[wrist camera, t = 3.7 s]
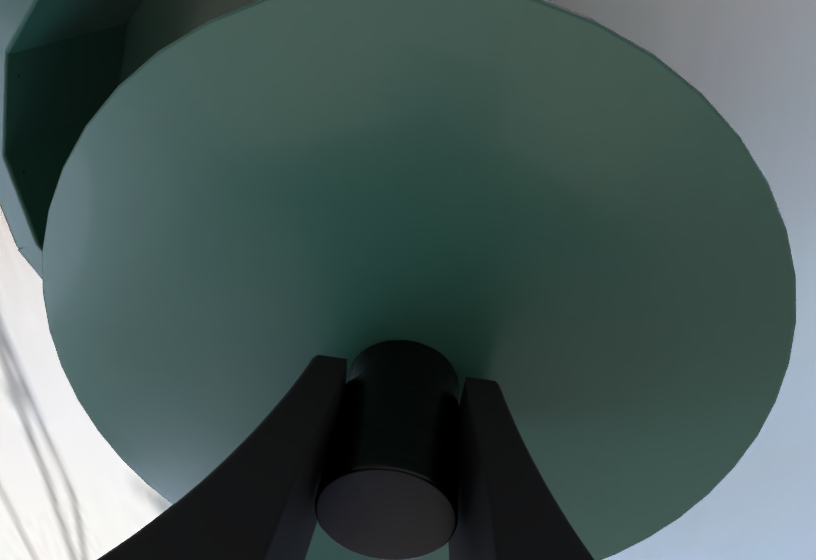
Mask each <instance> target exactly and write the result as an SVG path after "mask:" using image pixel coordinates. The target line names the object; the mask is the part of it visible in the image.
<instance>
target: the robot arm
mask: <svg viewBox="0 0 816 560" xmlns="http://www.w3.org/2000/svg"><path fill="white" fill-rule="evenodd" d="M347 362H348V359H345V358H338V357H331V356H325V355H317V356H315V357H313V358H312V359H311V361H310V362H309V364H308V365H307V367H306V368H305V370H304V371H303V373H302V374H301V375H300V377H299V378H298V379H297V381H296V382H295V383H294V385H293V386H292V387H291V388H290V390H289V391H288V392H287V393H286V394H285V396H284V397H283V398H282V399H281V401H280V402H279V403H278V404H277V405H276V406H275V407H274V409H273V410H272V411H271V412H270V413H269V414H268V415H267V417H266V418H265V419H264V420H263V421H262V422H261V423H260V424H259V426H258V427H257V428H256V429H255V430H254V431H253V432H252V433H251V434H250V435H249V436H248V437H247V438H246V439H245V440H244V441H243V442H242V443H241V444H240V445H239V446H238V447H237V448H236V449H235V450H234V451H233V452H232V453H231V454H230V455H229V456H228V457H227V458H226V459H225V460H224V461H223V462H222V463H221V464H220V465H219V466H218V467H216V468H215V469H214V470H213V471H212V472H211V473H210V474H209V475H208V476H207V477H205V478H204V479H203V480H202V481H201V482H200V483H199V484H197V485H196V486H195V487H194V488H193V489H192V490H190V491H189V492H188V493H187V494H186V495H184V496H183V497H182V498H181V499H180V500H178V501H177V502H176V503H174V504H173V505H172V506H171V507H169V508H168V509H167V510H166V511H164V512H163V513H162V514H161V515H159V516H158V517H157V518H155V519H154V520H153V521H152V522H150V523H149V524H148V525H146V526H145V527H144V528H142V529H141V530H140V531H138V532H137V533H135V534H134V535H133V536H131V537H130V538H129V539H127V540H126V541H124V542H123V543H121V544H120V545H118V546H117V547H115V548H114V549H112V550H111V551H109V552H108V553H106V554H105V555H103V556H102V557H100V558H99V559H98V560H305V558H306V555H307V552H308V549H309V546H310V543H311V540H312V537H313V534H314V530H315V527H316V524H317V518H316V514H315V509H314V503H315V497H316V493H317V490H318V486H319V482H320V478H321V474H322V470H323V466H324V463H325V459H326V455H327V451H328V447H329V443H330V440H331V436H332V433H333V429H334V426H335V422H336V419H337V415H338V411H339V407H340V403H341V400H342V396H343V392H344V388H345V384H346V373H347ZM448 545H449V560H594V558H593V557H592V555H591V554H590V552H589V551H588V549H587V548H586V547H585V545H584V544H583V542H582V541H581V539H580V538H579V537H578V535H577V534H576V532H575V530H574V529H573V527H572V526H571V524H570V523H569V521H568V520H567V518H566V516H565V515H564V513H563V512H562V510H561V508H560V507H559V505H558V503H557V502H556V500H555V498H554V497H553V495H552V493H551V492H550V490H549V488H548V486H547V485H546V483H545V481H544V479H543V478H542V476H541V474H540V472H539V470H538V468H537V466H536V464H535V463H534V461H533V459H532V457H531V455H530V453H529V451H528V449H527V447H526V445H525V443H524V441H523V439H522V437H521V435H520V433H519V431H518V428H517V426H516V424H515V422H514V420H513V417H512V415H511V413H510V411H509V408H508V406H507V403H506V401H505V398H504V396H503V393H502V391H501V388H500V386H499V384H498V383H497V382H496V381H492V380H485V379H479V378H472V377H466V378H465V383H464V387H463V391H462V395H461V400H460V404H459V497H458V525H457V528H456V531H455V533H454V534H453V536H452V538H451V539H450V540H449V541H448Z"/></svg>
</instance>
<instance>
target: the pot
mask: <svg viewBox="0 0 816 560" xmlns="http://www.w3.org/2000/svg"><path fill="white" fill-rule="evenodd" d="M256 1H259V0H0V206H1V208H2V211H3V213H4V216H5V218H6V221H7V223H8V226H9V228H10V231H11V233H12V236H13V238H14V241H15V243H16V246H17V247H18V248H19V249H18V251H19V252H20V253H21V254H22V255H23V257H24V258H25V259H26V260H27V261H28V263H29V264H30V265H31V266H32V267H33V269H34V270H35V271H36V272H37V273H38V275H39V276H40V277H41V278H42V279H43V268H42V250H43V243H44V237H45V230H46V224H47V217H48V210H49V207H50V204H51V201H52V198H53V195H54V193H55V190H56V187H57V184H58V181H59V178H60V175H61V172H62V169H63V166H64V164H65V163H66V161H67V159H68V157H69V155H70V154H71V152H72V150H73V148H74V146H75V144H76V143H77V141H78V139H79V137H80V135H81V134H82V132H83V130H84V128H85V126H86V125H87V124H88V122H89V121H90V120H91V119H92V118H93V116H94V115H95V114H96V113H97V111H98V110H99V109H100V108H101V106H102V105H103V104H104V103H105V101H106V100H107V99H108V98H109V97H110V95H111V94H112V93H113V92H114V90H115V89H116V88H117V87H118V86H119V85H120V84H121V83H122V82H123V81H125V80H126V79H127V78H128V77H129V76H130V75H132V74H133V73H134V72H135V71H136V70H137V69H138V68H140V67H141V66H142V65H143V64H144V63H145V62H146V61H148V60H149V59H150V58H151V57H152V56H153V55H155V54H156V53H157V52H158V51H159V50H161V49H163V48H164V47H166V46H168V45H169V44H171V43H173V42H174V41H176V40H178V39H179V38H181V37H182V36H184V35H186V34H187V33H189V32H191V31H192V30H194V29H196V28H197V27H199V26H201V25H202V24H204V23H205V22H207V21H209V20H212V19H214V18H217V17H219V16H221V15H224V14H226V13H229V12H231V11H234V10H236V9H239V8H241V7H244V6H246V5H249V4H251V3H254V2H256Z"/></svg>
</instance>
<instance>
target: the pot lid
mask: <svg viewBox="0 0 816 560" xmlns="http://www.w3.org/2000/svg"><path fill="white" fill-rule="evenodd" d="M42 268H43V295H44V301H45V307H46V312H47V318H48V324H49V329H50V333H51V336H52V339H53V342H54V345H55V348H56V351H57V354H58V357H59V360H60V363H61V366H62V368H63V370H64V372H65V374H66V376H67V378H68V380H69V382H70V384H71V386H72V388H73V390H74V393H75V395H76V397H77V399H78V401H79V402H80V404H81V405H82V407H83V408H84V410H85V411H86V413H87V414H88V416H89V417H90V419H91V420H92V422H93V423H94V425H95V426H96V428H97V430H98V431H99V432H100V433H101V435H102V436H103V437H104V438H105V439H106V441H107V442H108V443H109V444H110V445H111V447H112V448H113V449H114V450H115V452H116V453H117V454H118V455H119V456H120V458H121V459H122V460H123V461H124V462H125V463H126V464H127V465H128V466H129V467H130V468H131V469H132V470H134V471H135V472H136V473H137V474H138V475H139V476H140V477H141V478H142V479H143V480H144V481H145V482H146V483H147V484H148V485H149V486H150V487H152V488H153V489H154V490H155V491H157V492H158V493H159V494H160V495H162V496H163V497H164V498H165V499H167V500H168V501H169V502H170V503H172V504H174V503H176V502H177V501H178V500H180V499H181V498H182V497H183V496H184V495H186V494H187V493H188V492H189V491H190V490H192V489H193V488H194V487H195V486H196V485H197V484H199V483H200V482H201V481H202V480H203V479H204V478H205V477H207V476H208V475H209V474H210V473H211V472H212V471H213V470H214V469H215V468H216V467H218V466H219V465H220V464H221V463H222V462H223V461H224V460H225V459H226V458H227V457H228V456H229V455H230V454H231V453H232V452H233V451H234V450H235V449H236V448H237V447H238V446H239V445H240V444H241V443H242V442H243V441H244V440H245V439H246V438H247V437H248V436H249V435H250V434H251V433H252V432H253V431H254V430H255V429H256V428H257V427H258V426H259V424H260V423H261V422H262V421H263V420H264V419H265V418H266V417H267V415H268V414H269V413H270V412H271V411H272V410H273V409H274V407H275V406H276V405H277V404H278V403H279V402H280V401H281V399H282V398H283V397H284V396H285V394H286V393H287V392H288V391H289V390H290V388H291V387H292V386H293V385H294V383H295V382H296V381H297V379H298V378H299V377H300V375H301V374H302V373H303V371H304V370H305V368H306V367H307V365H308V364H309V362H310V361H311V359H312V358H313V357H315V356H317V355H325V356H331V357H338V358H345V359H348V362H347V373H346V384H345V388H344V392H343V396H342V400H341V403H340V407H339V411H338V415H337V419H336V422H335V426H334V429H333V433H332V436H331V440H330V443H329V447H328V451H327V455H326V459H325V463H324V466H323V470H322V474H321V478H320V482H319V486H318V490H317V493H316V497H315V503H314V509H315V514H316V518H317V524H316V527H315V530H314V534H313V537H312V540H311V543H310V546H309V549H308V552H307V555H306V558H305V560H449V545H448V541H449V540H450V539H451V538H452V536H453V534H454V533H455V531H456V528H457V525H458V497H459V404H460V400H461V395H462V391H463V387H464V383H465V378H466V377H472V378H479V379H485V380H492V381H496V382H497V383H498V384H499V386H500V388H501V391H502V393H503V396H504V398H505V401H506V403H507V406H508V408H509V411H510V413H511V415H512V417H513V420H514V422H515V424H516V426H517V428H518V431H519V433H520V435H521V437H522V439H523V441H524V443H525V445H526V447H527V449H528V451H529V453H530V455H531V457H532V459H533V461H534V463H535V464H536V466H537V468H538V470H539V472H540V474H541V476H542V478H543V479H544V481H545V483H546V485H547V486H548V488H549V490H550V492H551V493H552V495H553V497H554V498H555V500H556V502H557V503H558V505H559V507H560V508H561V510H562V512H563V513H564V515H565V516H566V518H567V520H568V521H569V523H570V524H571V526H572V527H573V529H574V530H575V532H576V534H577V535H578V537H579V538H580V539H581V541H582V542H583V544H584V545H585V547H586V548H587V549H588V551H589V552H590V554H591V555H592V557H593V558H594V560H602V559H605V558H607V557H610V556H612V555H615V554H617V553H619V552H621V551H623V550H625V549H627V548H629V547H631V546H633V545H635V544H637V543H639V542H641V541H643V540H645V539H647V538H648V537H650V536H652V535H653V534H655V533H656V532H658V531H659V530H661V529H662V528H664V527H666V526H667V525H669V524H670V523H672V522H673V521H675V520H676V519H678V518H679V517H681V516H682V515H683V514H684V513H686V512H687V511H688V510H689V509H691V508H692V507H693V506H694V505H695V504H697V503H698V502H699V501H700V500H702V499H703V498H704V497H705V496H707V495H708V494H709V493H710V492H711V491H712V490H713V489H714V488H715V487H716V486H717V484H718V483H719V482H720V481H721V480H722V479H723V478H724V477H725V476H726V475H727V474H728V473H729V472H730V471H731V470H732V469H733V468H734V467H735V465H736V464H737V463H738V461H739V460H740V459H741V457H742V456H743V455H744V453H745V452H746V450H747V449H748V448H749V446H750V445H751V444H752V442H753V441H754V440H755V438H756V437H757V435H758V434H759V432H760V430H761V428H762V426H763V424H764V422H765V420H766V419H767V417H768V415H769V413H770V411H771V409H772V407H773V405H774V404H775V402H776V399H777V396H778V393H779V390H780V387H781V385H782V382H783V379H784V376H785V373H786V370H787V367H788V364H789V360H790V354H791V348H792V342H793V336H794V330H795V324H796V279H795V271H794V266H793V261H792V256H791V250H790V245H789V240H788V235H787V230H786V227H785V225H784V222H783V219H782V217H781V214H780V212H779V209H778V207H777V204H776V202H775V199H774V196H773V194H772V191H771V189H770V186H769V184H768V182H767V180H766V178H765V177H764V175H763V174H762V172H761V170H760V169H759V167H758V165H757V164H756V162H755V161H754V159H753V157H752V156H751V154H750V152H749V151H748V149H747V148H746V146H745V144H744V143H743V141H742V139H741V138H740V136H739V135H738V134H737V133H736V132H735V131H734V130H733V128H732V127H731V126H730V125H729V124H728V123H727V122H726V121H725V119H724V118H723V117H722V116H721V115H720V114H719V113H718V111H717V110H716V109H715V108H714V107H713V106H712V105H711V104H710V102H709V101H708V100H707V99H706V98H705V97H704V96H703V95H702V93H700V92H699V91H698V90H697V89H695V88H694V87H693V86H692V85H690V84H689V83H688V82H687V81H686V80H684V79H683V78H682V77H681V76H679V75H678V74H677V73H676V72H674V71H673V70H672V69H671V68H670V67H668V66H667V65H666V64H665V63H663V62H662V61H661V60H660V59H658V58H657V57H656V56H655V55H653V54H652V53H650V52H649V51H647V50H645V49H643V48H642V47H640V46H638V45H636V44H635V43H633V42H631V41H630V40H628V39H626V38H624V37H623V36H621V35H619V34H617V33H616V32H614V31H612V30H610V29H609V28H607V27H605V26H604V25H602V24H600V23H598V22H597V21H595V20H593V19H591V18H588V17H586V16H583V15H581V14H578V13H575V12H573V11H570V10H568V9H565V8H563V7H560V6H557V5H555V4H552V3H550V2H547V1H545V0H259V1H256V2H254V3H251V4H249V5H246V6H244V7H241V8H239V9H236V10H234V11H231V12H229V13H226V14H224V15H221V16H219V17H217V18H214V19H212V20H209V21H207V22H205V23H204V24H202V25H201V26H199V27H197V28H196V29H194V30H192V31H191V32H189V33H187V34H186V35H184V36H182V37H181V38H179V39H178V40H176V41H174V42H173V43H171V44H169V45H168V46H166V47H164V48H163V49H161V50H159V51H158V52H157V53H156V54H155V55H153V56H152V57H151V58H150V59H149V60H148V61H146V62H145V63H144V64H143V65H142V66H141V67H140V68H138V69H137V70H136V71H135V72H134V73H133V74H132V75H130V76H129V77H128V78H127V79H126V80H125V81H123V82H122V83H121V84H120V85H119V86H118V87H117V88H116V89H115V90H114V92H113V93H112V94H111V95H110V97H109V98H108V99H107V100H106V101H105V103H104V104H103V105H102V106H101V108H100V109H99V110H98V111H97V113H96V114H95V115H94V116H93V118H92V119H91V120H90V121H89V122H88V124H87V125H86V126H85V128H84V130H83V132H82V134H81V135H80V137H79V139H78V141H77V143H76V144H75V146H74V148H73V150H72V152H71V154H70V155H69V157H68V159H67V161H66V163H65V164H64V166H63V169H62V172H61V175H60V178H59V181H58V184H57V187H56V190H55V193H54V195H53V198H52V201H51V204H50V207H49V210H48V217H47V224H46V230H45V237H44V243H43V250H42Z"/></svg>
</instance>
